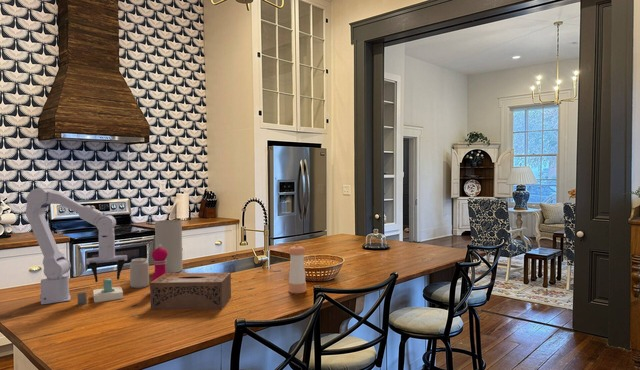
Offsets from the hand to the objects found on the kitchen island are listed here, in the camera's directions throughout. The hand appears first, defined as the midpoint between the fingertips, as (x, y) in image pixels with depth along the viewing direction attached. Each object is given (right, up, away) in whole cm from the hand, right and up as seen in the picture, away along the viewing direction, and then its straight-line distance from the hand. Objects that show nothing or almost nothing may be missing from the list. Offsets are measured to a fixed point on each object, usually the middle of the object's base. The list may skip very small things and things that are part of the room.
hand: (107, 280), depth 169 cm
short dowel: (-5, -7, -9) cm, 12 cm away
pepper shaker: (+75, -6, +6) cm, 76 cm away
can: (+6, -7, +16) cm, 18 cm away
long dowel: (0, -7, 0) cm, 7 cm away
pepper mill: (+19, -7, +5) cm, 21 cm away
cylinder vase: (+9, -6, +44) cm, 46 cm away
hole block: (0, -7, 0) cm, 7 cm away
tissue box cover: (+36, -7, -9) cm, 38 cm away
